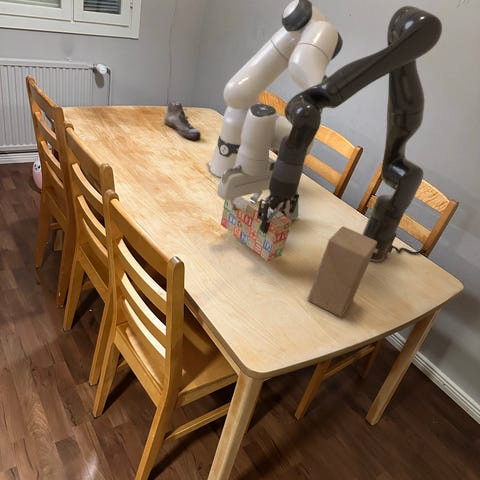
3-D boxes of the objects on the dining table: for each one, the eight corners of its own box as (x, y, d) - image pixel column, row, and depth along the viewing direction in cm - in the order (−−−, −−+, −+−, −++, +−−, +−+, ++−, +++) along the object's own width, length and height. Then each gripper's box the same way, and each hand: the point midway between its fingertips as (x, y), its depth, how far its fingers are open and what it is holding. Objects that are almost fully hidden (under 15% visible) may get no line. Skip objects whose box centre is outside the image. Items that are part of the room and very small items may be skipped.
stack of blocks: (219, 225, 136) (226, 189, 130) (234, 220, 141) (241, 186, 134) (267, 261, 125) (277, 225, 118) (282, 255, 129) (292, 219, 122)
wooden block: (340, 318, 116) (366, 256, 105) (306, 300, 119) (328, 239, 108) (352, 300, 123) (378, 241, 113) (320, 283, 127) (342, 225, 116)
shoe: (204, 141, 203) (208, 115, 196) (182, 142, 197) (185, 115, 190) (182, 121, 220) (185, 97, 213) (161, 121, 214) (164, 96, 207)
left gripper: (232, 173, 116) (223, 218, 123) (282, 163, 129) (272, 204, 137) (216, 164, 120) (209, 208, 127) (267, 154, 133) (258, 195, 140)
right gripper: (278, 186, 109) (263, 242, 118) (314, 177, 118) (298, 229, 127) (257, 173, 113) (244, 228, 122) (293, 165, 122) (279, 217, 131)
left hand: (242, 206), depth 132 cm, fingers open, 8 cm apart
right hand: (272, 228), depth 125 cm, fingers closed on stack of blocks, 6 cm apart
